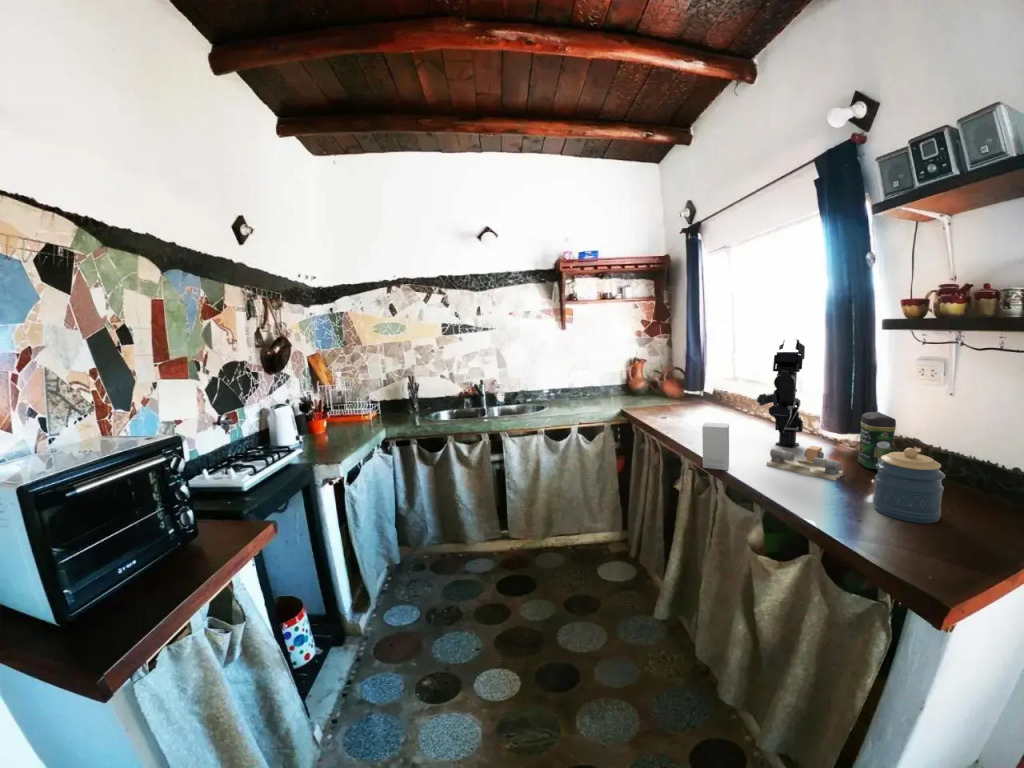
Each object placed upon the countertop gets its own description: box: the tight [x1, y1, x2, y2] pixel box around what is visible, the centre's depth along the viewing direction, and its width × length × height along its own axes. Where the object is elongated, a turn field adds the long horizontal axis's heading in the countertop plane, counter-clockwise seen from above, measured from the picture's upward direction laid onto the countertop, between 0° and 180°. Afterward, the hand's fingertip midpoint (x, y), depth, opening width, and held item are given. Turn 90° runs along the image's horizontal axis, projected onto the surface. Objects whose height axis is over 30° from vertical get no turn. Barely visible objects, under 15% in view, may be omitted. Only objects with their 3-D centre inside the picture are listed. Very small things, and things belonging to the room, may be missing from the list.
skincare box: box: [701, 421, 730, 471], centre depth 147 cm, size 8×7×16 cm
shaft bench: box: [766, 448, 845, 481], centre depth 141 cm, size 20×8×5 cm, turn 35°
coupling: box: [804, 445, 825, 462], centre depth 149 cm, size 5×5×5 cm
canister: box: [872, 447, 946, 524], centre depth 108 cm, size 13×13×18 cm
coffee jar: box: [857, 411, 897, 471], centre depth 140 cm, size 10×8×19 cm
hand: (783, 429), depth 147 cm, fingers open, 9 cm apart
